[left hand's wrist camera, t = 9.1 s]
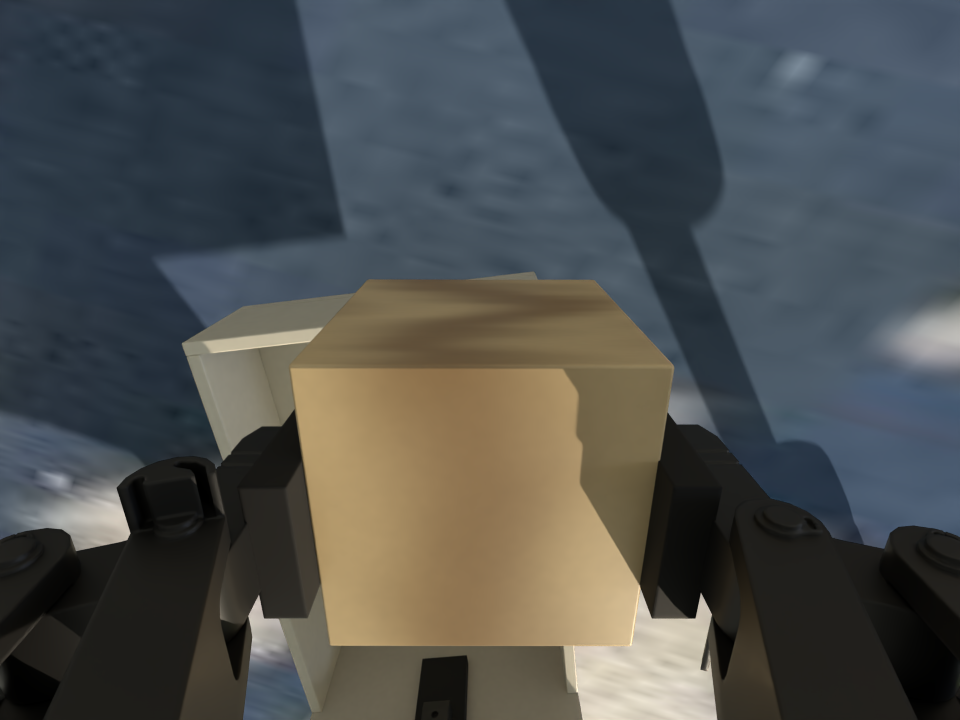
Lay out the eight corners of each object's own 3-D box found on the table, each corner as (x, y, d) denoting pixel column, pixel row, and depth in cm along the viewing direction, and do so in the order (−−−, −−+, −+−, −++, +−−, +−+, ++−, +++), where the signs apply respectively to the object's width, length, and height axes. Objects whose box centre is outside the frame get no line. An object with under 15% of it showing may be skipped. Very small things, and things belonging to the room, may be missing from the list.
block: (594, 279, 13) (676, 365, 8) (578, 472, 16) (632, 647, 10) (366, 278, 13) (286, 365, 8) (382, 472, 16) (328, 646, 10)
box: (242, 306, 27) (66, 411, 15) (534, 271, 26) (571, 355, 15) (346, 653, 36) (283, 879, 24) (565, 636, 35) (603, 860, 24)
